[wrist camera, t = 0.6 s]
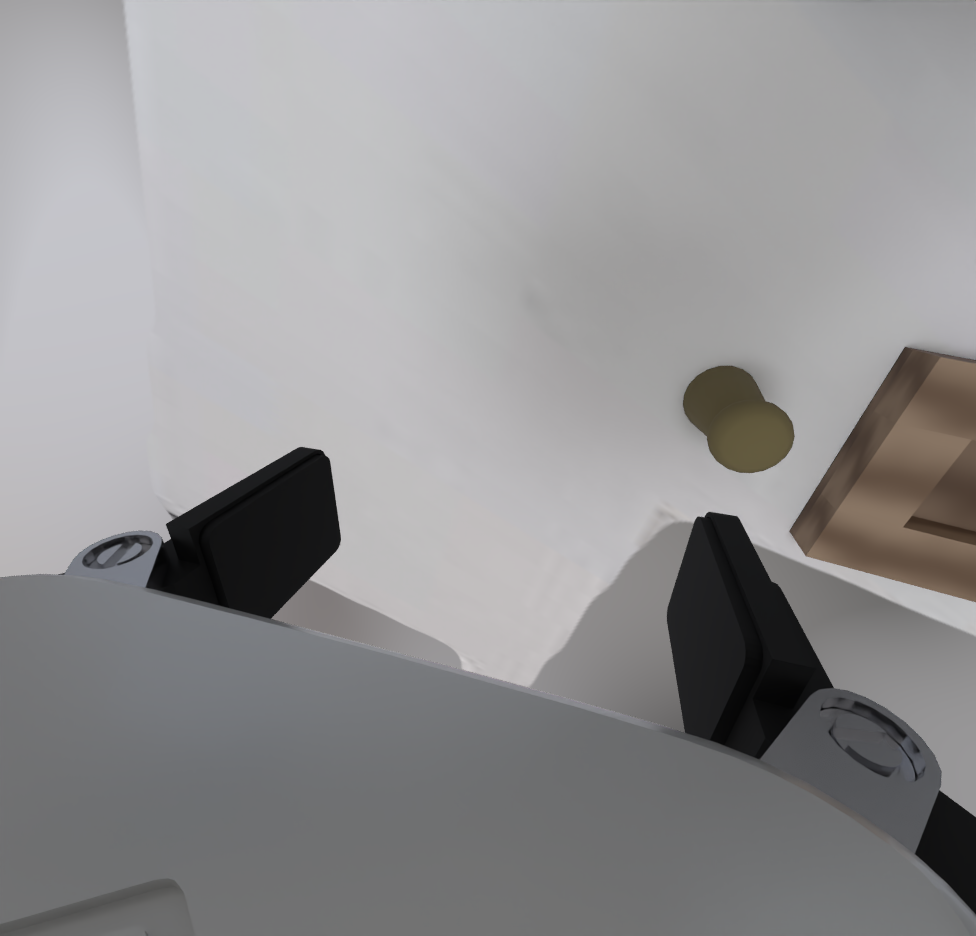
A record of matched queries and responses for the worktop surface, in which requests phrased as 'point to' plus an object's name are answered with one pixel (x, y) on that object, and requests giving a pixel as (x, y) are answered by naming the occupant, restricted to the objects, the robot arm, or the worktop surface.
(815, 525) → the walnut holder
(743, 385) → the olive pepper mill
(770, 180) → the worktop surface
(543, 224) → the worktop surface
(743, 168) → the worktop surface
